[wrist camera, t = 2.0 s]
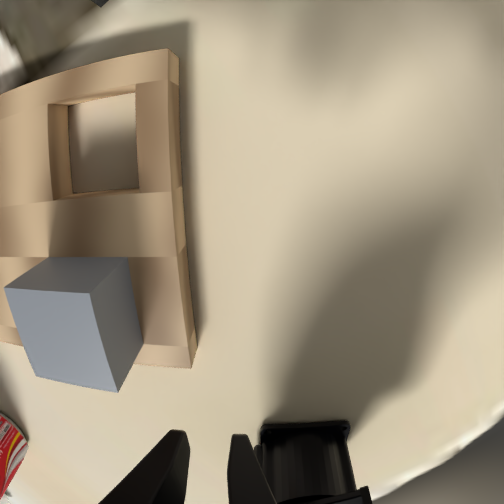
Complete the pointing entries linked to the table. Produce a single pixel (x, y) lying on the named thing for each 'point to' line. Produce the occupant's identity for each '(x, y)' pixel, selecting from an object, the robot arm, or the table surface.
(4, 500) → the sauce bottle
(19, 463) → the soda can
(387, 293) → the table surface
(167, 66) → the wooden cubby shelf
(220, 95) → the table surface
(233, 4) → the table surface
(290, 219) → the table surface
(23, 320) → the block
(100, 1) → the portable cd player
